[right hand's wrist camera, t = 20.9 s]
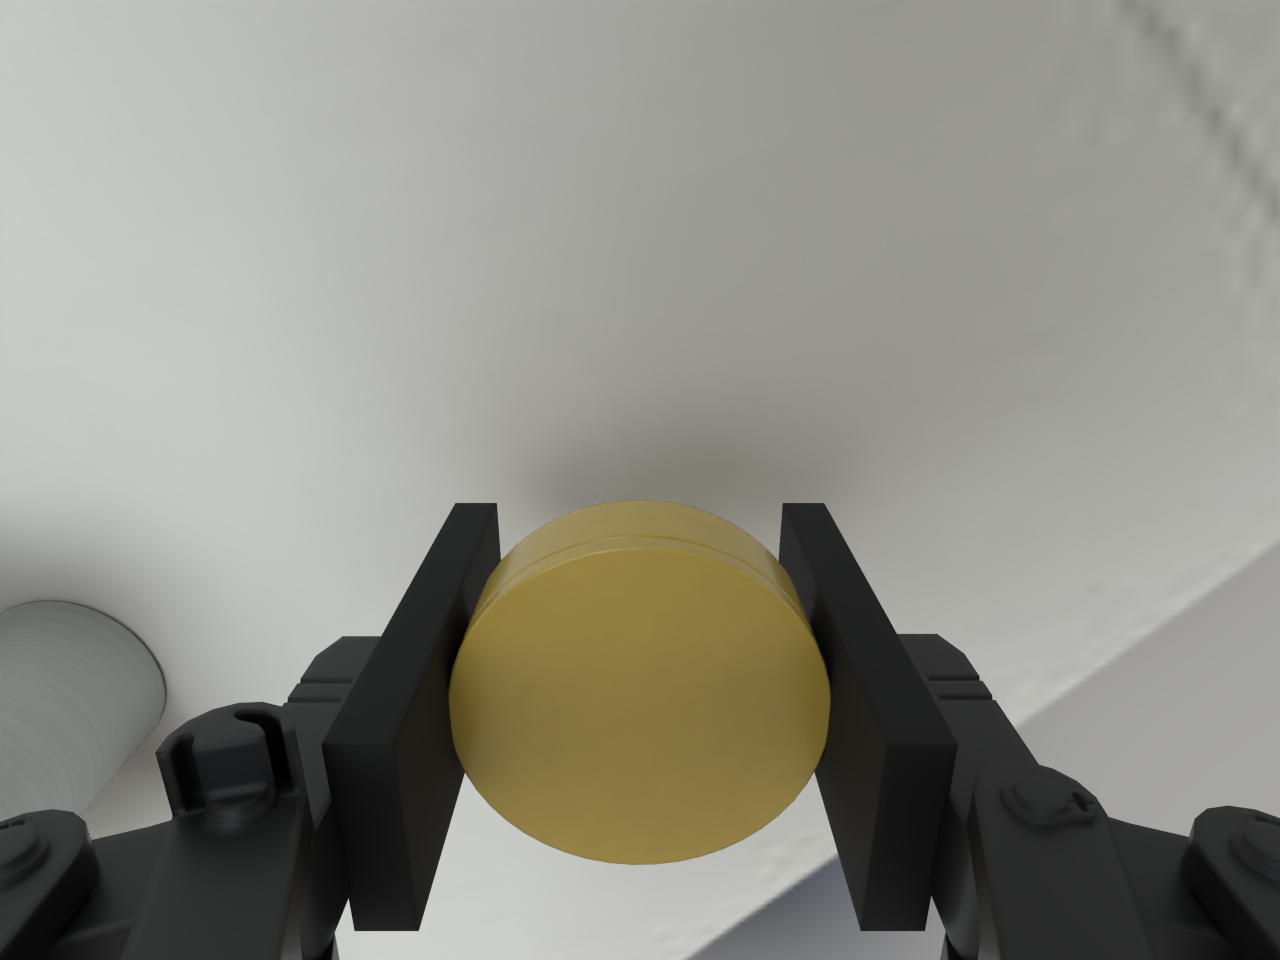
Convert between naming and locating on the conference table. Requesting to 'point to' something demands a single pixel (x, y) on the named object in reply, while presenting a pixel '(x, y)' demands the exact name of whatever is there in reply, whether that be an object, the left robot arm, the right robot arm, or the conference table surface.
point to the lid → (639, 685)
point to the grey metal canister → (69, 704)
